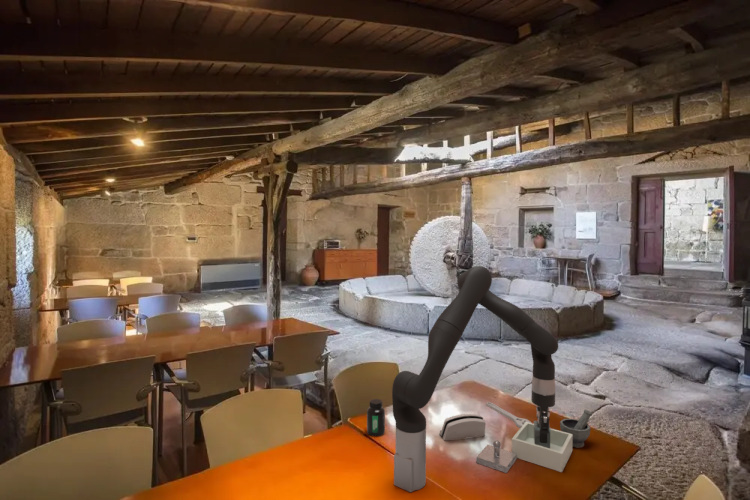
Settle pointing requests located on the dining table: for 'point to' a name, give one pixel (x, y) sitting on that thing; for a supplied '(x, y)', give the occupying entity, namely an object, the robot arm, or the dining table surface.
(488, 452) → the stud plate
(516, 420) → the adjustable wrench
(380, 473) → the dining table surface
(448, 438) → the napkin holder
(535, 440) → the grey rectangular block
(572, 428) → the mortar and pestle
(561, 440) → the bin
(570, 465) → the dining table surface
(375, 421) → the supplement bottle
